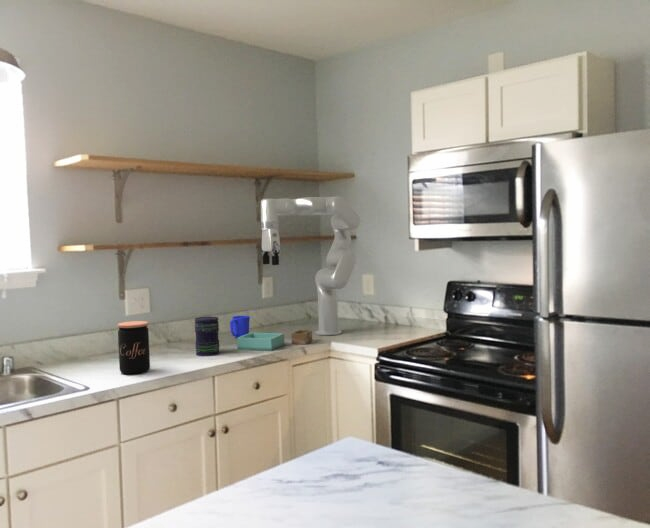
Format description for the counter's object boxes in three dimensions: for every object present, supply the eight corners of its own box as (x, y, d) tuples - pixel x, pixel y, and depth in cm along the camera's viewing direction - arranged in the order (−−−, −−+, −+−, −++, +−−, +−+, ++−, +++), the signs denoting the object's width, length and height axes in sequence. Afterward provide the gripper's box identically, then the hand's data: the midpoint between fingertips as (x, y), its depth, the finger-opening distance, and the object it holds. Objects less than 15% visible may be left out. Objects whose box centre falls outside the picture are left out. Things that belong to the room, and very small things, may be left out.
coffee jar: (116, 375, 218) (113, 325, 217) (124, 369, 228) (122, 321, 227) (146, 374, 218) (144, 324, 217) (153, 368, 229) (151, 320, 228)
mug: (224, 339, 285) (223, 318, 284) (239, 335, 295) (238, 315, 295) (238, 341, 281) (238, 319, 280) (253, 336, 292) (252, 315, 291)
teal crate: (251, 343, 274) (251, 332, 273) (284, 344, 268) (284, 333, 268) (237, 349, 261) (236, 337, 260) (271, 350, 255) (271, 339, 255)
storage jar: (192, 353, 255) (191, 318, 254) (214, 350, 260) (213, 315, 259) (200, 357, 246) (198, 320, 245) (223, 354, 251) (222, 318, 250)
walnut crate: (299, 340, 277) (298, 329, 277) (312, 341, 275) (312, 330, 275) (291, 344, 269) (291, 333, 269) (305, 344, 267) (304, 333, 267)
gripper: (285, 225, 266) (286, 264, 267) (269, 226, 281) (270, 263, 282) (270, 226, 262) (271, 265, 263) (254, 226, 277) (255, 264, 278)
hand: (270, 264), depth 273 cm, fingers open, 9 cm apart
